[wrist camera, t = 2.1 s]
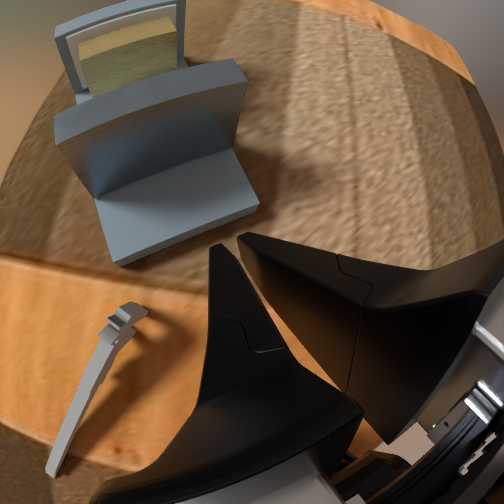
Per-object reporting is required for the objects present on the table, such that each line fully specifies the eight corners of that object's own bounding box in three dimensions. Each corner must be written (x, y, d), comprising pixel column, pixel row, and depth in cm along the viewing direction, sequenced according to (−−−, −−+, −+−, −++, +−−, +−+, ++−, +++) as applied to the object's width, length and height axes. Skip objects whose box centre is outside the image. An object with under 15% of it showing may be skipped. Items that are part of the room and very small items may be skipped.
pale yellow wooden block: (177, 86, 24) (177, 30, 17) (98, 113, 22) (79, 61, 15) (168, 69, 24) (167, 16, 18) (94, 94, 22) (78, 43, 16)
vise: (254, 212, 24) (290, 146, 15) (120, 267, 21) (70, 228, 12) (175, 55, 27) (176, -13, 18) (78, 88, 24) (55, 23, 15)
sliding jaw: (232, 147, 23) (248, 80, 16) (94, 198, 20) (55, 145, 12) (219, 122, 23) (230, 55, 16) (87, 169, 20) (53, 111, 13)
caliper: (139, 303, 21) (117, 297, 15) (150, 311, 21) (132, 308, 15) (47, 470, 15) (19, 497, 9) (56, 477, 15) (29, 505, 9)
